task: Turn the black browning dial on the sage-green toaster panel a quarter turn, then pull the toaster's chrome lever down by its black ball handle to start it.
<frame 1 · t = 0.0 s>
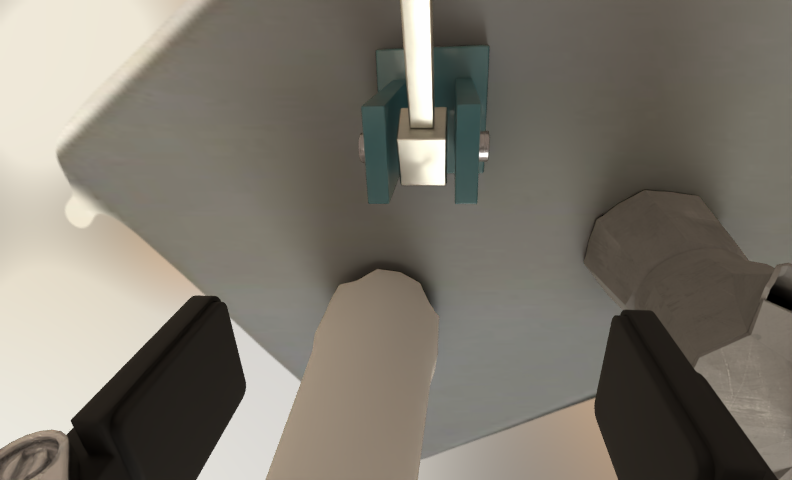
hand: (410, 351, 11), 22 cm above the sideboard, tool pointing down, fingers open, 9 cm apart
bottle: (386, 305, 37), on the sideboard
coffeepot: (649, 258, 33), on the sideboard
teal lever mount: (432, 111, 30), on the sideboard
toaster lever: (418, 50, 17), point 12 cm above the sideboard, hinge at 25.0°
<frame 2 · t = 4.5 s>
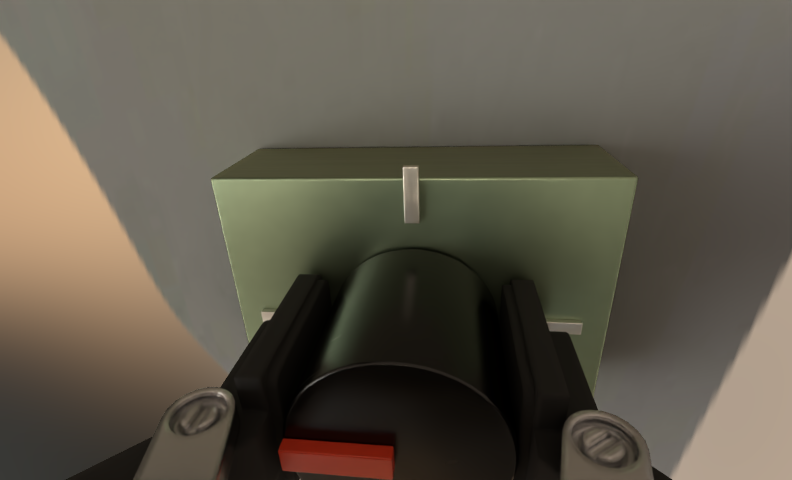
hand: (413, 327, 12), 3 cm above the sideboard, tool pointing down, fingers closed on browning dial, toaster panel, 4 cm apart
toaster panel: (422, 265, 15), on the sideboard
browning dial: (406, 380, 10), point 5 cm above the sideboard, hinge at 0.0°, touching gripper
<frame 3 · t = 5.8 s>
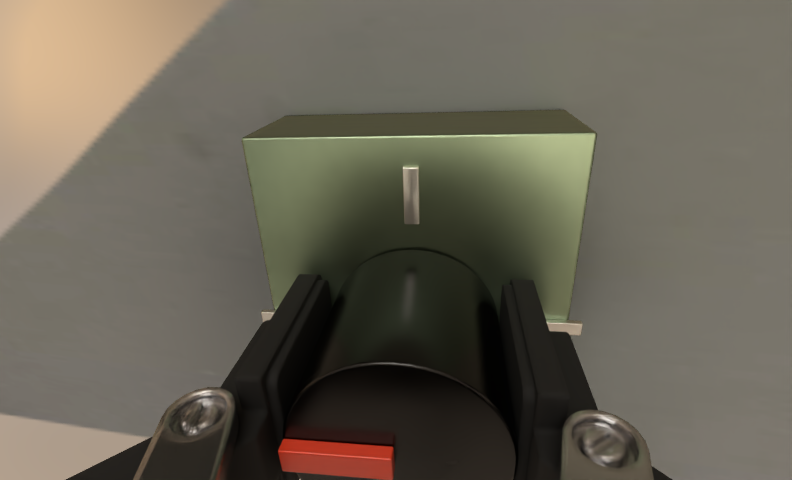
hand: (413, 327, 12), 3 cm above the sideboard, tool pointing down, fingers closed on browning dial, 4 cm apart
toaster panel: (422, 266, 15), on the sideboard
browning dial: (406, 380, 10), point 5 cm above the sideboard, hinge at 90.0°, touching gripper
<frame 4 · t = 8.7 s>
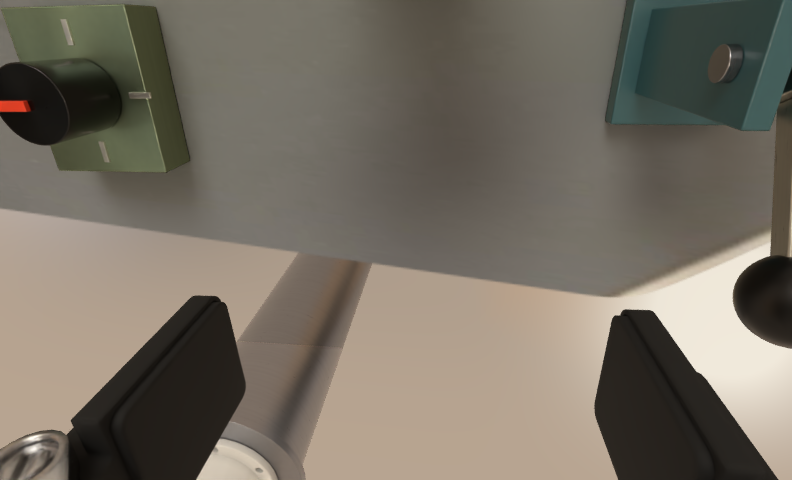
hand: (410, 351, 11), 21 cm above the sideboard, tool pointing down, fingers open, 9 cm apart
toaster panel: (120, 89, 30), on the sideboard
teal lever mount: (680, 51, 25), on the sideboard
browning dial: (59, 100, 26), point 5 cm above the sideboard, hinge at 90.0°
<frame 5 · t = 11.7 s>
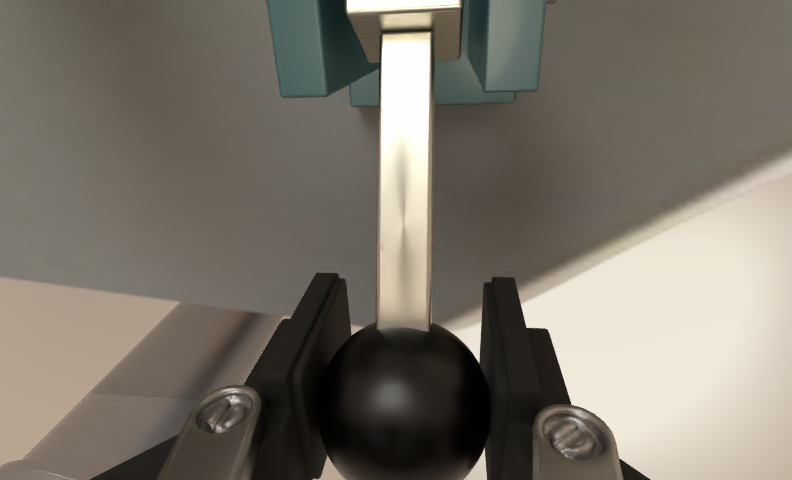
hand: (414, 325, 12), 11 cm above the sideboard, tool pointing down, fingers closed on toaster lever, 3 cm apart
teal lever mount: (431, 0, 18), on the sideboard
toaster lever: (406, 199, 9), point 12 cm above the sideboard, hinge at 25.0°, touching gripper
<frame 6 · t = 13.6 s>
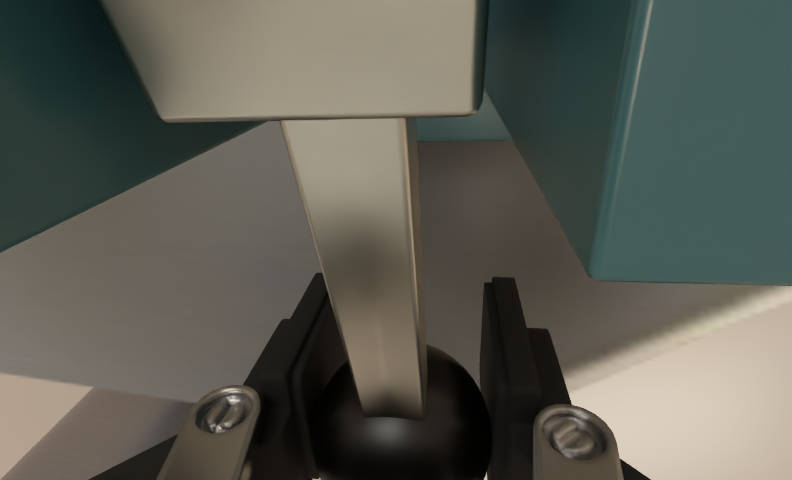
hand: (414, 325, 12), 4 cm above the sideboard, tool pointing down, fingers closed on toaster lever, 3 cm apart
toaster lever: (381, 298, 6), point 9 cm above the sideboard, hinge at -18.6°, touching gripper
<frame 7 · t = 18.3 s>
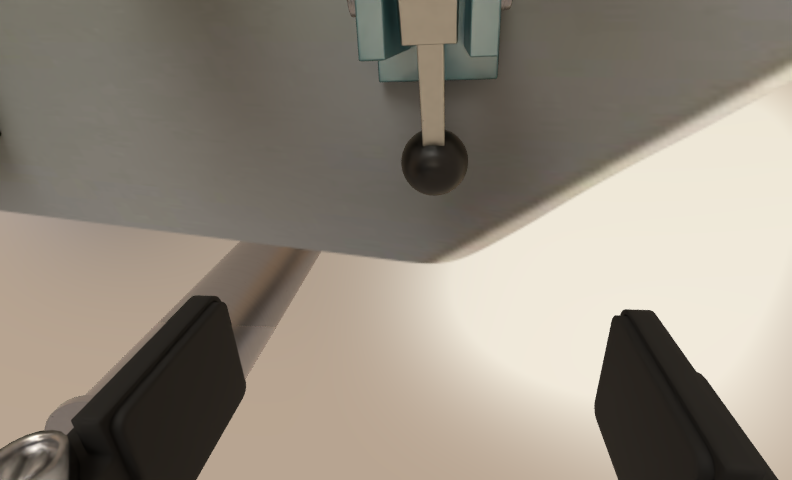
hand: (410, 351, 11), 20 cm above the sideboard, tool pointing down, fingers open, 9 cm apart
teal lever mount: (437, 5, 25), on the sideboard
toaster lever: (432, 96, 20), point 8 cm above the sideboard, hinge at -30.5°
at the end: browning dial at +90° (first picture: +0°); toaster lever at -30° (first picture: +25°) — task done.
